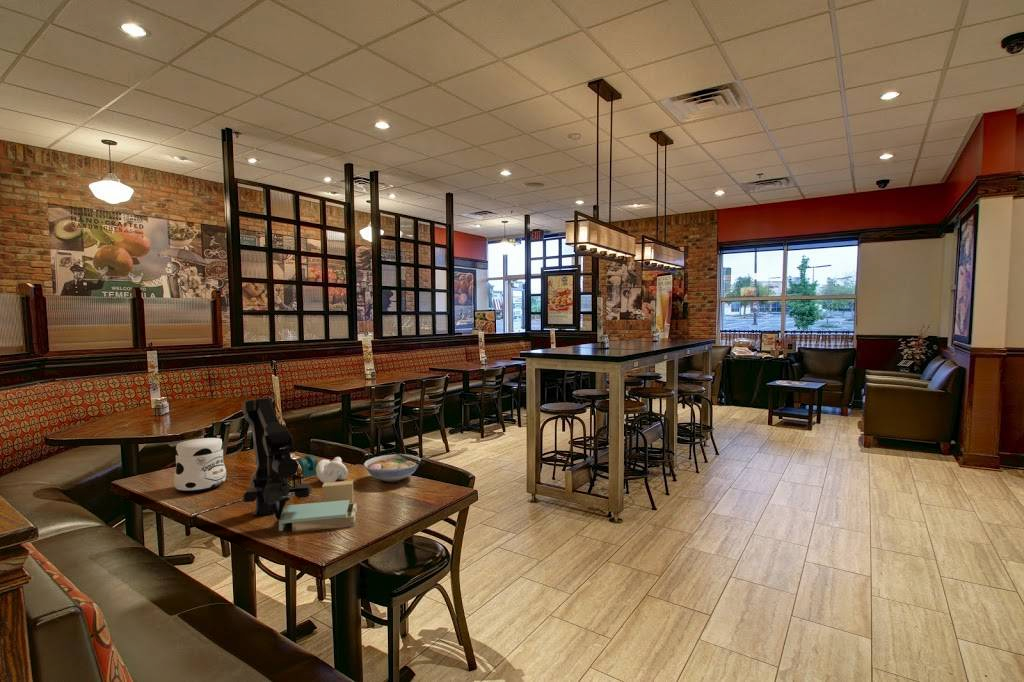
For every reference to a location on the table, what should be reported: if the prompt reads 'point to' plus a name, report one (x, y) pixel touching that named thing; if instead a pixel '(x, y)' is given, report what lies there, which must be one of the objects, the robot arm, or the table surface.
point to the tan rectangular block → (337, 491)
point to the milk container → (199, 465)
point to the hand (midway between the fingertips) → (278, 519)
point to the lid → (313, 512)
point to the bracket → (308, 465)
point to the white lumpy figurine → (331, 470)
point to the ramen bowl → (392, 466)
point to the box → (328, 521)
